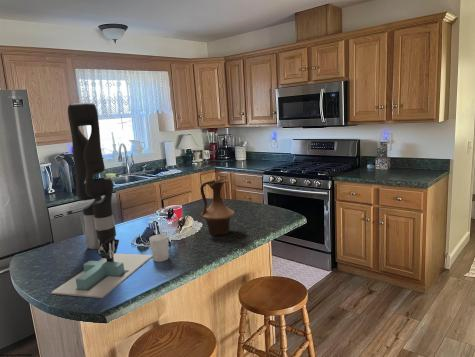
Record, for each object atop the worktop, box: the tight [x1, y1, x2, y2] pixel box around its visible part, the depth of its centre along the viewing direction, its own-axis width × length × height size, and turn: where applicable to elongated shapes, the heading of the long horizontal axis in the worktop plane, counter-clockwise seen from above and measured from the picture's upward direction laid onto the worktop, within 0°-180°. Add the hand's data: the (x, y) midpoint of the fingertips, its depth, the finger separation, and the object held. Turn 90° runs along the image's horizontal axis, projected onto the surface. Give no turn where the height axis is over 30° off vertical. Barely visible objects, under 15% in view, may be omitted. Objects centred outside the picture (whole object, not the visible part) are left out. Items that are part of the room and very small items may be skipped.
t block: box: [76, 260, 124, 290], centre depth 144 cm, size 16×16×4 cm
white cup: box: [148, 233, 169, 263], centre depth 161 cm, size 8×8×10 cm
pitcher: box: [200, 179, 235, 236], centre depth 189 cm, size 18×17×28 cm
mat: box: [50, 252, 153, 299], centre depth 151 cm, size 22×37×1 cm, turn 164°
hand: (110, 265), depth 154 cm, fingers closed
